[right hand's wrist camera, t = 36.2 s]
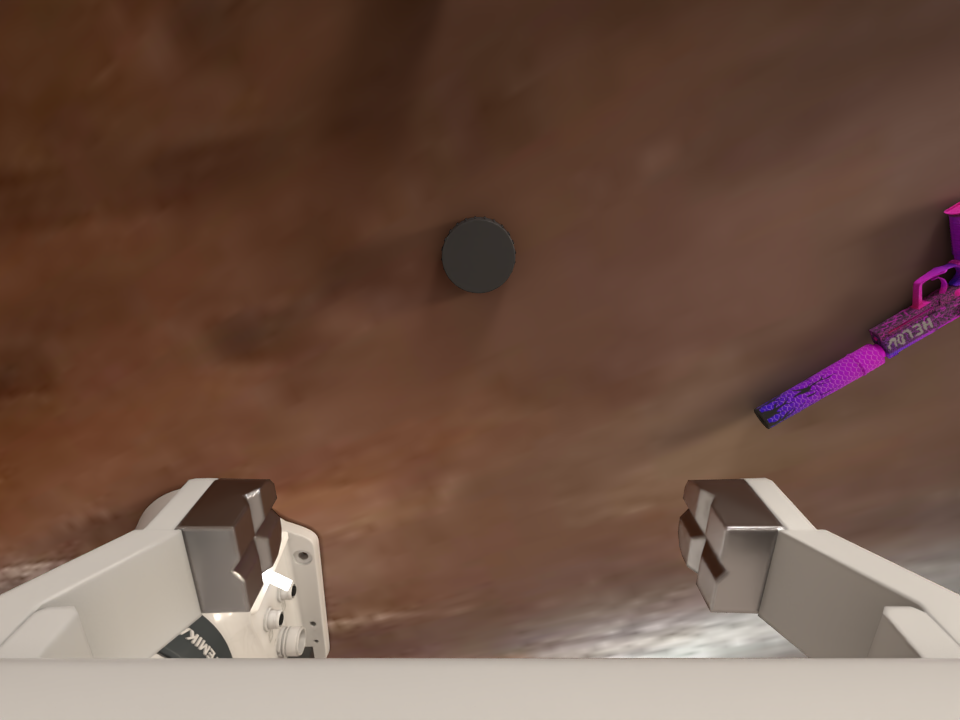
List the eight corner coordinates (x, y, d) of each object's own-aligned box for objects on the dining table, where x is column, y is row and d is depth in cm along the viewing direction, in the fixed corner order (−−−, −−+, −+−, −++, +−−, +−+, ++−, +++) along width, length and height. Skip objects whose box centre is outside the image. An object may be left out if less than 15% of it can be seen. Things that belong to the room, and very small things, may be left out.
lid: (520, 279, 40) (522, 285, 38) (452, 295, 40) (450, 301, 38) (506, 208, 38) (507, 210, 36) (434, 225, 38) (432, 228, 36)
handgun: (979, 187, 37) (1004, 188, 35) (1015, 274, 39) (1041, 279, 37) (716, 353, 41) (727, 362, 40) (762, 424, 44) (774, 436, 42)
